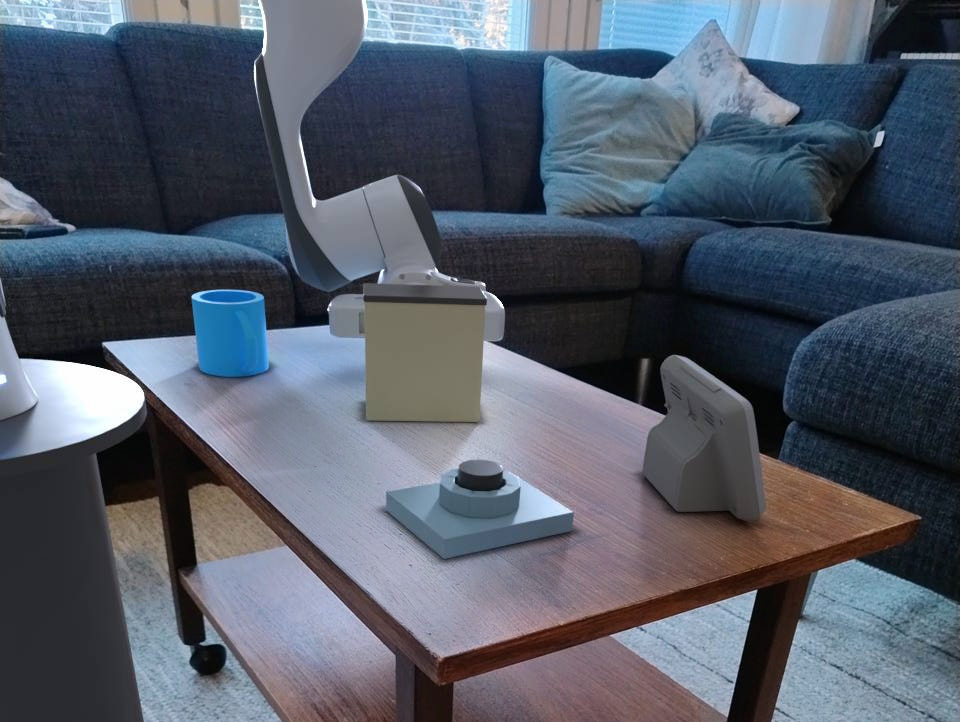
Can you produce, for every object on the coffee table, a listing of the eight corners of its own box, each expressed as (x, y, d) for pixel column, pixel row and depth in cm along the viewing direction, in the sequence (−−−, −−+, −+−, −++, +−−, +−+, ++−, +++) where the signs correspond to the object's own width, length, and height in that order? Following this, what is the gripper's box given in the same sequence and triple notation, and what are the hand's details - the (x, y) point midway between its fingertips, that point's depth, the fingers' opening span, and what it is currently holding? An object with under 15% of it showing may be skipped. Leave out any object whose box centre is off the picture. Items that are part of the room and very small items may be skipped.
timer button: (471, 497, 71) (472, 478, 70) (449, 481, 73) (450, 463, 73) (510, 490, 72) (511, 471, 72) (487, 474, 75) (488, 456, 74)
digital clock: (767, 531, 76) (797, 406, 70) (660, 525, 76) (682, 400, 70) (725, 462, 90) (747, 353, 84) (634, 457, 89) (650, 348, 84)
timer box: (443, 559, 68) (445, 516, 66) (385, 510, 75) (385, 470, 74) (572, 531, 74) (576, 491, 72) (506, 488, 81) (509, 450, 79)
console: (480, 422, 96) (487, 299, 90) (365, 421, 95) (363, 295, 88) (474, 404, 101) (479, 286, 95) (364, 403, 100) (363, 283, 93)
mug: (190, 361, 110) (182, 291, 106) (255, 356, 114) (250, 288, 110) (220, 388, 102) (213, 313, 97) (290, 381, 105) (285, 308, 101)
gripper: (327, 277, 107) (323, 301, 96) (496, 282, 110) (513, 306, 98) (329, 331, 111) (325, 361, 99) (493, 335, 113) (509, 365, 102)
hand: (420, 334), depth 99 cm, fingers closed
